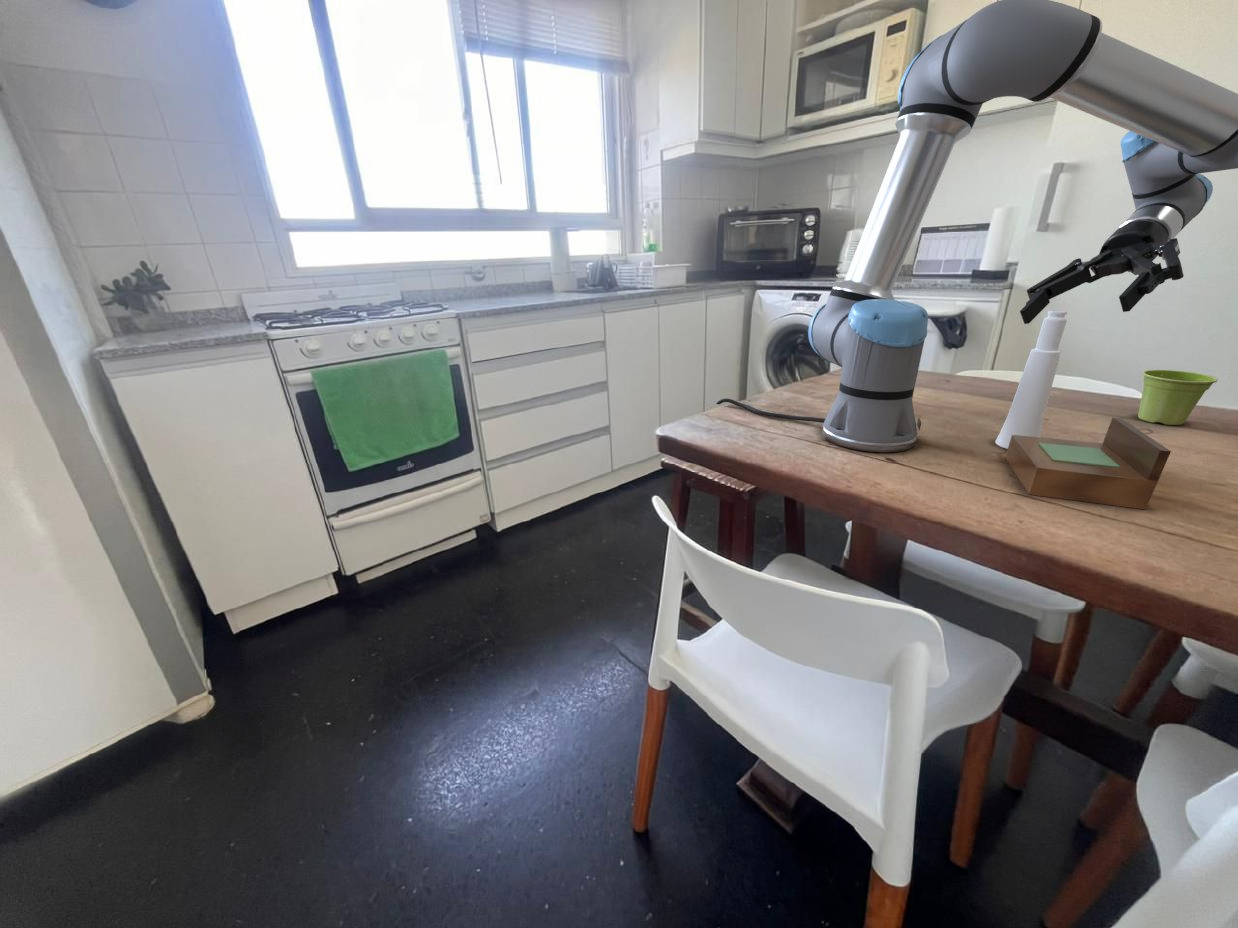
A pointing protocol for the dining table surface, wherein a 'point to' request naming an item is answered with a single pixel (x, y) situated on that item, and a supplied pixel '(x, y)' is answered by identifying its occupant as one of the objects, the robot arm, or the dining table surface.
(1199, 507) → the dining table surface
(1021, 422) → the cosmetic bottle
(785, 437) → the dining table surface
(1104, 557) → the dining table surface
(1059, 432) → the dining table surface
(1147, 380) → the plant pot
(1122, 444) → the wooden block green inlay
